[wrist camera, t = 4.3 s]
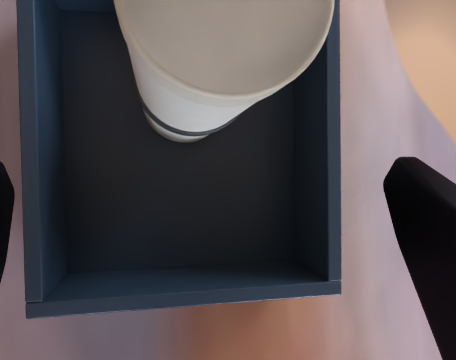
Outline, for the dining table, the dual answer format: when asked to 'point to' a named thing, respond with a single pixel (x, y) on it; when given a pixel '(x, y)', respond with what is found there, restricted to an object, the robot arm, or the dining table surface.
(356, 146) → the dining table surface
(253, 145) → the box
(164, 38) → the light grey piece
